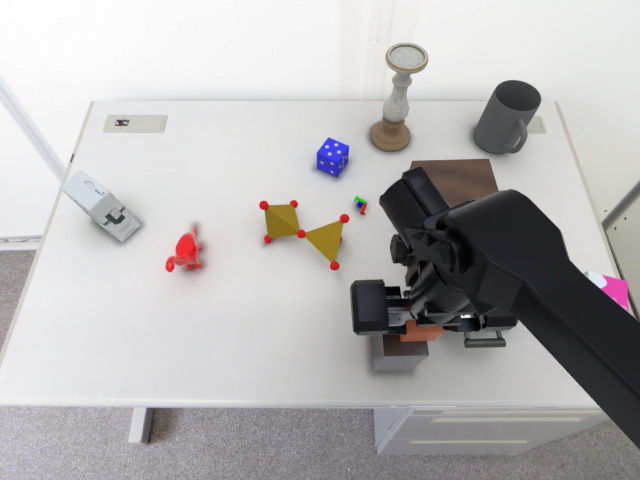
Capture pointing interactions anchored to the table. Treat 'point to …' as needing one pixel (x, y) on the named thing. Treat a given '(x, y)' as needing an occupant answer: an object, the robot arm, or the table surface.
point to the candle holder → (398, 96)
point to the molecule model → (286, 224)
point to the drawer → (484, 340)
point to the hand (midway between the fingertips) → (415, 323)
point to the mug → (507, 117)
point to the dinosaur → (185, 253)
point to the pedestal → (396, 353)
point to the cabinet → (460, 178)
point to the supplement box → (611, 287)
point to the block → (420, 332)
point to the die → (332, 157)
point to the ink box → (100, 205)
